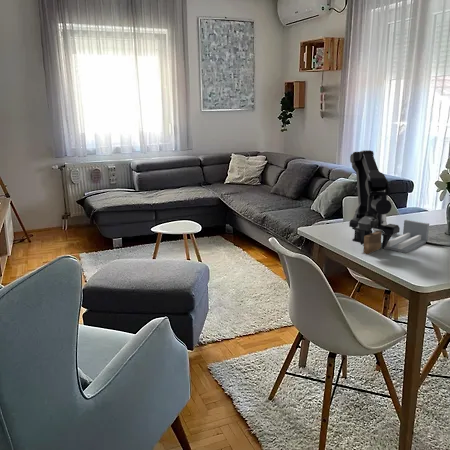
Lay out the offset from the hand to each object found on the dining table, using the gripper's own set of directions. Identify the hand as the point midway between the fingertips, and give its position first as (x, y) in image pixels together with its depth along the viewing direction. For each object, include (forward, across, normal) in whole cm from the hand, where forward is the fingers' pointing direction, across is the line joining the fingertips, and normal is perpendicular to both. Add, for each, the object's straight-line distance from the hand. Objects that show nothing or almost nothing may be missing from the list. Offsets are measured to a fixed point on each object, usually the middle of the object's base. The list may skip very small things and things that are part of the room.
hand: (372, 246), depth 176 cm
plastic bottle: (+2, -12, +28) cm, 31 cm away
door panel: (+2, 0, 0) cm, 2 cm away
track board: (+2, +6, +16) cm, 17 cm away
